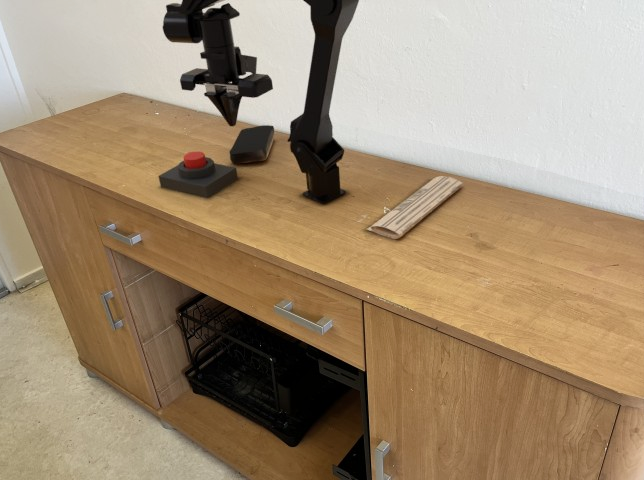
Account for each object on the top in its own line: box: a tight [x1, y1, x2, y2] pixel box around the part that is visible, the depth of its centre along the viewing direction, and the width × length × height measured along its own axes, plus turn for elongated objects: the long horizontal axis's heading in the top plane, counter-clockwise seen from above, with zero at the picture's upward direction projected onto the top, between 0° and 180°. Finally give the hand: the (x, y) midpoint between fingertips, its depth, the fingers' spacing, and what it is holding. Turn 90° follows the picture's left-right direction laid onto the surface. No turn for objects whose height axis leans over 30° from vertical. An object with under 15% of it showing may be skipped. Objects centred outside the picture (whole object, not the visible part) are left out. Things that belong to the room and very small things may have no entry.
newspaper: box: [366, 175, 464, 240], centre depth 116 cm, size 24×7×2 cm, turn 144°
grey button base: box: [158, 156, 239, 199], centre depth 130 cm, size 13×10×4 cm
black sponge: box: [229, 124, 275, 165], centre depth 142 cm, size 16×8×4 cm, turn 177°
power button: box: [183, 151, 207, 169], centre depth 128 cm, size 4×4×2 cm
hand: (232, 125), depth 124 cm, fingers closed
